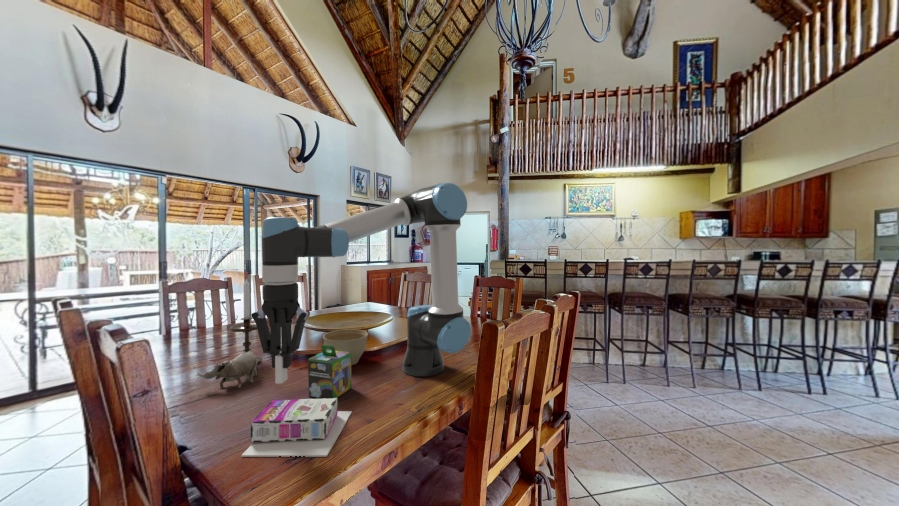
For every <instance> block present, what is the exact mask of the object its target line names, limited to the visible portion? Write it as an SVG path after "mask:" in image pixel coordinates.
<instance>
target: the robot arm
mask: <svg viewBox="0 0 899 506" xmlns="http://www.w3.org/2000/svg"><path fill="white" fill-rule="evenodd" d="M467 210H468V199H467V195H466V194H465V193H464V190H462V189H461V187H460V186H458V184H455V183H453V182H452V183H451V182H443V183H441V182H439V183H437V184H435V185H431V186H427V187H423V188H420V189H418V190H416V191H413V192H411V193H409V194H406V195H405V196H402V197H398V198H396V199H395V200H394V201H393V203H389V204H386V205H383V206H379V207H377V208H373V209H371V210H367V211H363V212H359V213H357V214H354V215H351V216H347V217H344V218H340V219H337V220H334V221H330V222H327V223H324V224H322V225H318V226H314V227H310V226H309V227H307V226H300V225H299V221H298V219H296V218H293V217H285V216H282V217H281V216H270V217H266V218H264V219H263V221H262V230H261V245H262V246H261V257H262V263H261V264H262V269H261V270H262V272H261V273H262V275H261V276H262V277H261V279H262V282H263V285H262V301H263V303H262V305H261V308H260V309H258V310H257V311H254V312H253V313H250V314H251V316H250V317H252V320H253V322H256V326H257V330H256V331H257V332H258V334H257V335H258V337H259V341H260V345H261V349H262V353H265V354H266V353H267V354H270V355H271V368H272V369H274V370H275V371H274V372H275V374H274V378H275V379H274V380H275V382H274V384H282V385H283V383H284V382H286V381H287V380H288V368H289V367H290V366H291V364H292V353H295V352H296V351H297V350H299V349H300V345H301V341H302V338H303V337H302V336H303V334H304V329H305V325H306V321H307V319H308V317H309V316H310V315H311V314H310V311H309V310H304V309H302V308H301V305H300V303H299V284H298V283H297V281H298V280H299V258H337V257H338V258H339V257H344V256H346V254H347V253H348V250H349V247H350V243H352V242H355V241H358V240H360V239H364V238H366V237H370V236H372V235H375V234H378V233H381V232H384V231H386V230H390V229H391V228H392V229H393V228H395V227H398V226H401V225H403V226H404V227H405V226H409V225H412V224H417V223H418V224H419V223H424V228H426V230H427V231H428V232H429V244H430V245H429V246H430V247H429V248H430V249H429V250H430V251H429V252H430V272H431V273H430V275H431V276H430V277H431V279H430V281H431V304H422V305H416V306H415V305H414V306H411V307H409V308H408V310H407V314H406V315H407V317H406V320H407V323H406V324H407V329H406V331H407V333H406V334H407V337H406V338H407V344H406V345H407V347H406V352H405V354H404V357H403V361H402V368H401V369H402V371H403V373H405V374H406V375H409V376H413V377H420V378H421V377H422V378H423V377H431V376H436V375H439V374H440V373H442V372H443V371H444V370H445V360H444V358H443V355H442V352H445V353H448V354H455V353H458V352H461V350H463V349H464V348H465V346H466V345H467V344H468V343H469V340H470V339H471V334H472V327H471V324H470V322H469V321H468V320H467V319H466V318H464V308H463V307H462V306H461V305H460V304H459V288H458V287H459V285H458V284H459V282H458V281H459V280H458V257H457V256H458V251H457V247H458V246H457V230H459V228H460V227H461V218H463V217H464V216H465V214H466V213H467ZM266 317H267V318H266ZM294 317H296V321H295V324H294V328H293V334H292V325H293V318H294ZM267 319H268V320H267ZM268 323H269V324H268ZM269 328H270V329H269Z"/></svg>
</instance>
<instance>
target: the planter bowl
mask: <svg viewBox="0 0 899 506" xmlns="http://www.w3.org/2000/svg"><path fill="white" fill-rule="evenodd" d="M368 335H369V333H368V332H367V331H365V330H363V329H352V328H349V329H348V328H347V329H346V328H345V329H337V330H332V331H329V332H327V333H325V334H323V336H322V337H323V338H322V339H323V345H329V346H334V348H335V351H344V352H351V366H353V365H356V364H358V362H359V361H360V358H361V357H362V355H363V354H364V352H365V350H366V346H367V343H368V342H367V341H368ZM327 350H330V349H328V348H327V349H326V351H327Z"/></svg>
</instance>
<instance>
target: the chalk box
mask: <svg viewBox="0 0 899 506" xmlns="http://www.w3.org/2000/svg"><path fill="white" fill-rule="evenodd" d="M320 348H321V351H322V352H319V353H317V354H315V355H314V356H312V357H309V358H308V359H307V371H308V372H307V375H308V376H307V377H308V397H311V398H315V399H318V398H337V399H338V398H339V397H340V396H342V395H344V394H345V393H346V392H347V391H349V390H351V389H352V388H353V383H352V381H353V379H352V365H351V352H344V351H335V348H334V346H329V345H324V344H322V345H321V347H320ZM327 348H328V349H330V350H327V351H326V349H327Z"/></svg>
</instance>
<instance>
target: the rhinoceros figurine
mask: <svg viewBox="0 0 899 506" xmlns="http://www.w3.org/2000/svg"><path fill="white" fill-rule="evenodd" d="M257 357H258V356H257V355H256V354H255V353H254V352H252V351H249V352H246V353H245V352H243V353H240V354H238V355H237V356H235V357H234V358H233V359H230V360H226V361H224V362H222V363H221V364H219V363H218V361H215V365H214V368H213V369H211V370H207V371H205V372H204V373H203V374H202V373H199V372H197V375H198V376H199V377H202V378H203V379H205V380H211V379H214V378H215V380H216V381H217V380H219V379H221V380H220V381H219V388H220V387H222V388H221V389H223V387H224V383H230V382H231V383H232V382H234V381H237V383H238V385H237V388H238V389H240V388H241V387H242V386H243V383H242V379H241V378H243V377H245V376H248V380H247V382H248V383H249V382H251V383H254V378H253V377H257V375H259V374H258V371H257V366H258V364H257V362H258V359H257Z"/></svg>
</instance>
